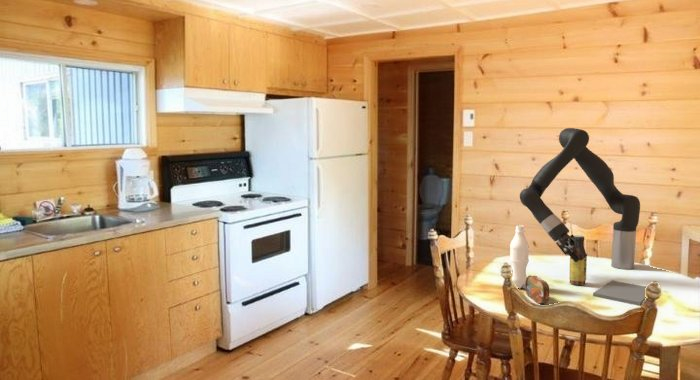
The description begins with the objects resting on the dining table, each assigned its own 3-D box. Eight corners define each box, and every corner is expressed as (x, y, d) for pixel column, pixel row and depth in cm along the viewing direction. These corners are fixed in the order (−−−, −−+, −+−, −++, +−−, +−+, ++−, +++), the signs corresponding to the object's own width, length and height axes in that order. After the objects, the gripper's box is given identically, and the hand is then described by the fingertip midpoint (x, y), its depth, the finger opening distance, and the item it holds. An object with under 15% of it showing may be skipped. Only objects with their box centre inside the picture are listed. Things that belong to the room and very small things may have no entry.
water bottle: (527, 285, 208) (529, 224, 206) (527, 290, 202) (529, 228, 199) (509, 283, 211) (511, 223, 208) (508, 288, 204) (510, 227, 201)
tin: (524, 293, 198) (525, 272, 197) (532, 293, 198) (533, 272, 198) (542, 307, 183) (542, 284, 182) (550, 306, 184) (551, 283, 183)
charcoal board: (611, 283, 210) (611, 280, 210) (655, 291, 199) (655, 288, 199) (593, 296, 194) (593, 293, 194) (639, 305, 184) (640, 302, 183)
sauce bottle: (587, 286, 206) (589, 238, 204) (570, 285, 207) (573, 237, 205) (583, 281, 212) (585, 234, 210) (567, 281, 214) (569, 234, 211)
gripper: (554, 224, 207) (582, 256, 200) (567, 219, 217) (594, 250, 211) (541, 235, 211) (568, 267, 205) (554, 230, 221) (581, 260, 215)
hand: (581, 258), depth 208 cm, fingers open, 8 cm apart
